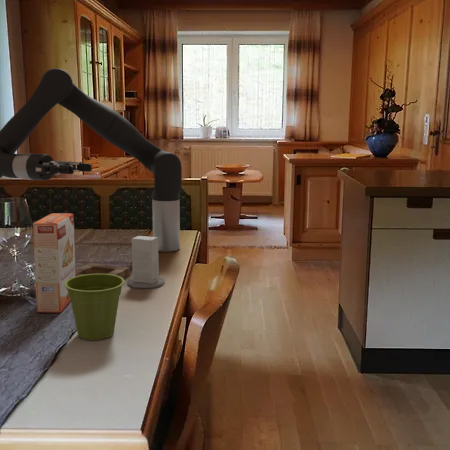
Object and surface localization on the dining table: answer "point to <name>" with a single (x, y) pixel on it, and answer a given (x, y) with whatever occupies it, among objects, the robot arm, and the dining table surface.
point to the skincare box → (145, 259)
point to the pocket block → (103, 270)
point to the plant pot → (95, 303)
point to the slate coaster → (145, 284)
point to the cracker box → (53, 260)
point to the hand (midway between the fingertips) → (82, 168)
